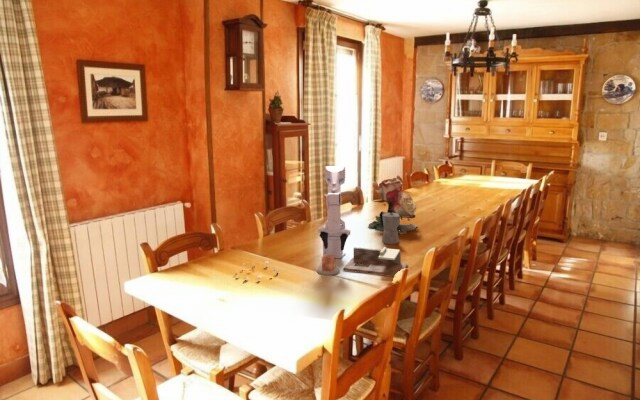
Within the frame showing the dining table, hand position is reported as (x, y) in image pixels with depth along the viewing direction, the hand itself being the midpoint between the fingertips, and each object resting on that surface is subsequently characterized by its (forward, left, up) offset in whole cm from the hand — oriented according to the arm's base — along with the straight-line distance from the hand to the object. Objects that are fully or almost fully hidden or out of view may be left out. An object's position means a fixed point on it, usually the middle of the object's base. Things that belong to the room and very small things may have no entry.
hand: (334, 249), depth 205 cm
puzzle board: (+17, +7, -9) cm, 21 cm away
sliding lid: (+23, +8, -3) cm, 25 cm away
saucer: (-2, -3, -10) cm, 10 cm away
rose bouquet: (+12, +81, -10) cm, 82 cm away
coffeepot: (+14, +51, -10) cm, 54 cm away
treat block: (-2, -3, -9) cm, 9 cm away
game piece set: (-31, -16, -10) cm, 36 cm away
